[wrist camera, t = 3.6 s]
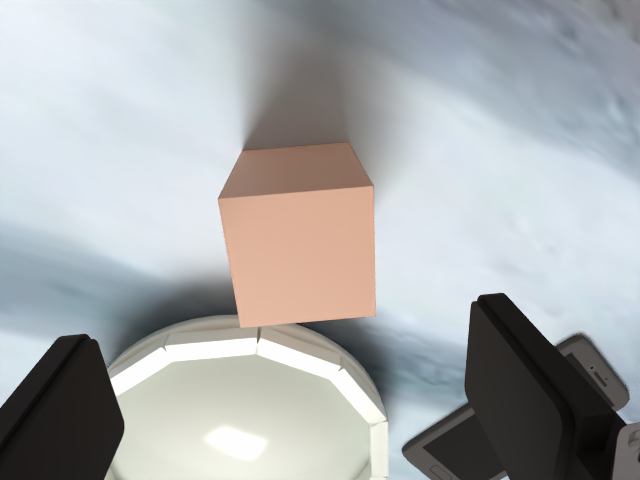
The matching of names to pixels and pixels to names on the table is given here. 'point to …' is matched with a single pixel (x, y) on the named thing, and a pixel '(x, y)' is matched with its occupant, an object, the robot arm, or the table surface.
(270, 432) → the dish
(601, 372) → the cell phone
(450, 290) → the table surface
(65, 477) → the robot arm
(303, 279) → the block
